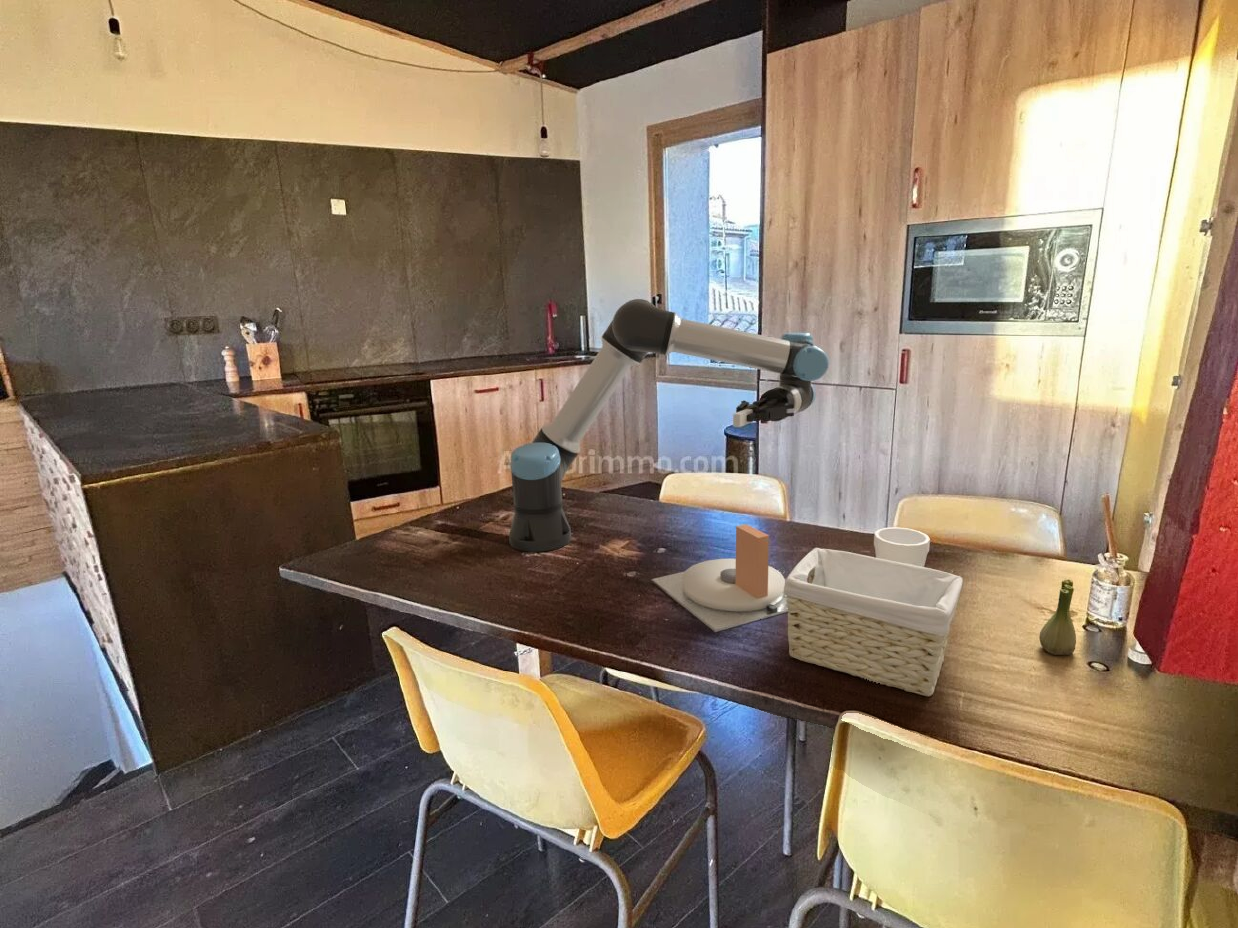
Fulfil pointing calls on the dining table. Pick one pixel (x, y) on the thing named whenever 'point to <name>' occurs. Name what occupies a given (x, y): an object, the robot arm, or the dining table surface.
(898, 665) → the storage basket
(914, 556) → the foam cup
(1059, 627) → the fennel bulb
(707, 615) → the base plate
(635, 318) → the robot arm
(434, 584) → the dining table surface
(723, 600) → the dial
